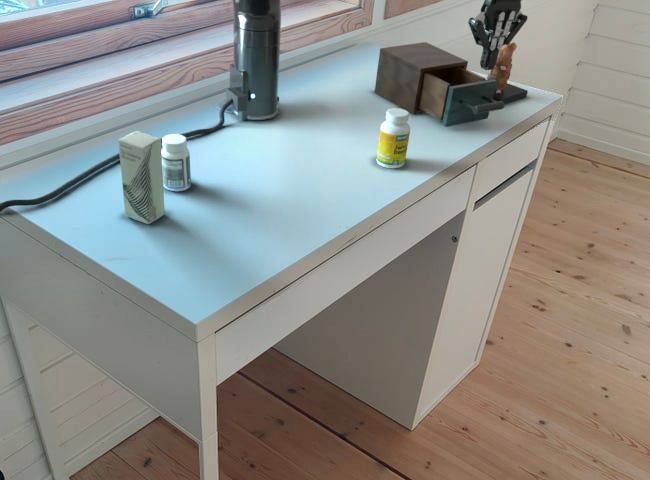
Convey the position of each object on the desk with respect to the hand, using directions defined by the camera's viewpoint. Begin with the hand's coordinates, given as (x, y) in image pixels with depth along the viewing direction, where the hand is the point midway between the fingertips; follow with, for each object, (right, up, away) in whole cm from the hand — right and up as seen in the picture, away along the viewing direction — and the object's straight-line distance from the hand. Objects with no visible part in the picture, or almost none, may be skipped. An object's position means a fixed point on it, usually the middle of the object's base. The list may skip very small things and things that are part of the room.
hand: (486, 68), depth 132 cm
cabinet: (-9, +2, +21) cm, 23 cm away
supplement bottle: (-20, -20, -5) cm, 28 cm away
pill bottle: (-58, -27, -15) cm, 66 cm away
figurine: (+10, +4, +25) cm, 27 cm away
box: (-62, -34, -23) cm, 74 cm away
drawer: (-3, -5, +12) cm, 13 cm away
